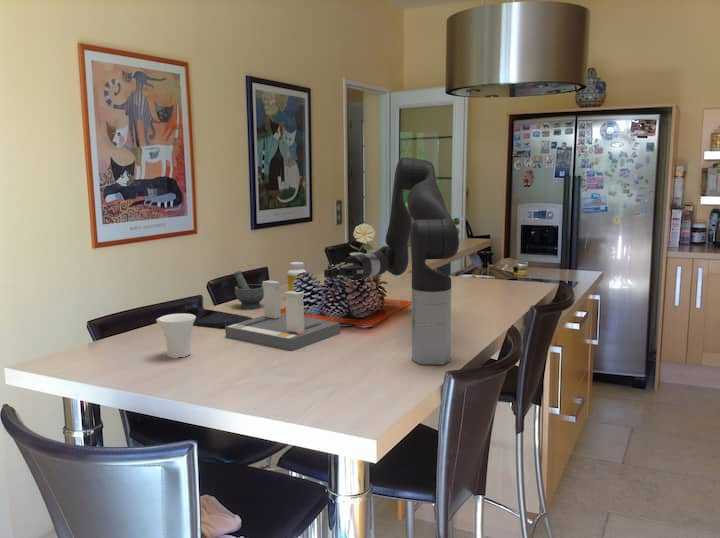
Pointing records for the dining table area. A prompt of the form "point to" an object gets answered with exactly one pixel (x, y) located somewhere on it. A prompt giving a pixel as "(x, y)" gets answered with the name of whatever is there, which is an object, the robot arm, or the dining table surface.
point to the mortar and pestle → (248, 292)
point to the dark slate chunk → (213, 317)
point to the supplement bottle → (294, 273)
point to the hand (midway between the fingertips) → (326, 273)
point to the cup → (177, 333)
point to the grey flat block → (281, 332)
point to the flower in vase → (363, 237)
